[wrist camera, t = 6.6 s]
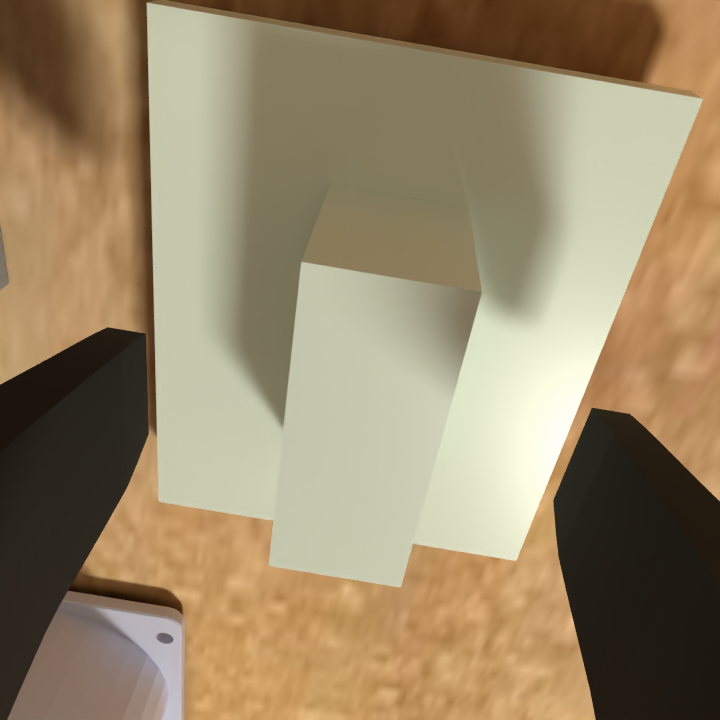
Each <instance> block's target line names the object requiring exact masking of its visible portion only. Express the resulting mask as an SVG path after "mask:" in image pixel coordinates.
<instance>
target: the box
mask: <svg viewBox="0 0 720 720" xmlns="http://www.w3.org/2000/svg"><path fill="white" fill-rule="evenodd" d="M8 283H9V282H8V275H7V269H6V262H5V256H4V250H3V243H2V237H1V230H0V290H1V289H2V288H4V287H5V286H6V285H7V284H8Z"/></svg>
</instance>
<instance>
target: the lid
mask: <svg viewBox="0 0 720 720" xmlns="http://www.w3.org/2000/svg"><path fill="white" fill-rule="evenodd" d="M147 35H148V77H149V119H150V161H151V203H152V245H153V287H154V329H155V371H156V413H157V455H158V497H159V502H163V503H169V504H175V505H181V506H187V507H193V508H199V509H206V510H212V511H218V512H224V513H230V514H236V515H242V516H248V517H254V518H260V519H266V520H272V521H273V529H272V538H271V548H270V557H269V566H273V567H279V568H285V569H291V570H297V571H303V572H310V573H316V574H322V575H328V576H334V577H340V578H346V579H352V580H358V581H364V582H370V583H376V584H383V585H389V586H395V587H401V585H402V581H403V578H404V574H405V570H406V567H407V563H408V559H409V556H410V552H411V548H412V545H413V544H418V545H424V546H430V547H436V548H442V549H448V550H454V551H460V552H466V553H472V554H478V555H484V556H490V557H496V558H502V559H508V560H514V561H516V560H517V557H518V555H519V552H520V550H521V547H522V545H523V542H524V540H525V538H526V535H527V533H528V530H529V528H530V525H531V523H532V520H533V518H534V515H535V513H536V510H537V508H538V505H539V503H540V501H541V498H542V496H543V493H544V491H545V488H546V486H547V483H548V481H549V478H550V476H551V473H552V471H553V468H554V466H555V463H556V461H557V459H558V456H559V454H560V451H561V449H562V446H563V444H564V441H565V439H566V436H567V434H568V431H569V429H570V426H571V424H572V422H573V419H574V417H575V414H576V412H577V409H578V407H579V404H580V402H581V399H582V397H583V394H584V392H585V389H586V387H587V385H588V382H589V380H590V377H591V375H592V372H593V370H594V367H595V365H596V362H597V360H598V357H599V355H600V352H601V350H602V347H603V345H604V343H605V340H606V338H607V335H608V333H609V330H610V328H611V325H612V323H613V320H614V318H615V315H616V313H617V310H618V308H619V306H620V303H621V301H622V298H623V296H624V293H625V291H626V288H627V286H628V283H629V281H630V278H631V276H632V273H633V271H634V268H635V266H636V264H637V261H638V259H639V256H640V254H641V251H642V249H643V246H644V244H645V241H646V239H647V236H648V234H649V231H650V229H651V227H652V224H653V222H654V219H655V217H656V214H657V212H658V209H659V207H660V204H661V202H662V199H663V197H664V194H665V192H666V189H667V187H668V185H669V182H670V180H671V177H672V175H673V172H674V170H675V167H676V165H677V162H678V160H679V157H680V155H681V152H682V150H683V148H684V145H685V143H686V140H687V138H688V135H689V133H690V130H691V128H692V125H693V123H694V120H695V118H696V115H697V113H698V111H699V108H700V106H701V103H702V101H703V98H701V97H699V96H698V95H696V94H695V93H693V92H691V91H688V90H682V89H676V88H671V87H665V86H659V85H653V84H648V83H642V82H636V81H630V80H624V79H619V78H613V77H607V76H601V75H595V74H590V73H584V72H578V71H572V70H567V69H561V68H555V67H549V66H543V65H538V64H532V63H526V62H520V61H515V60H509V59H503V58H497V57H491V56H486V55H480V54H474V53H468V52H463V51H457V50H451V49H445V48H439V47H434V46H428V45H422V44H416V43H410V42H405V41H399V40H393V39H387V38H382V37H376V36H370V35H364V34H358V33H353V32H347V31H341V30H335V29H330V28H324V27H318V26H312V25H306V24H301V23H295V22H289V21H283V20H277V19H272V18H266V17H260V16H254V15H249V14H243V13H237V12H231V11H225V10H220V9H214V8H208V7H202V6H197V5H191V4H185V3H179V2H173V1H168V0H155V1H151V2H147Z"/></svg>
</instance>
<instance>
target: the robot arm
mask: <svg viewBox="0 0 720 720" xmlns="http://www.w3.org/2000/svg"><path fill="white" fill-rule="evenodd" d="M148 434H149V430H148V397H147V364H146V334H144V333H138V332H132V331H126V330H120V329H114V328H105V329H103V330H101V331H99V332H97V333H95V334H93V335H91V336H89V337H87V338H85V339H84V340H82V341H80V342H78V343H76V344H74V345H73V346H71V347H69V348H67V349H65V350H63V351H62V352H60V353H58V354H56V355H54V356H53V357H51V358H49V359H47V360H45V361H43V362H42V363H40V364H38V365H36V366H34V367H32V368H30V369H29V370H27V371H25V372H23V373H21V374H19V375H17V376H16V377H14V378H12V379H10V380H8V381H6V382H4V383H2V384H1V385H0V720H184V684H185V619H184V616H183V615H182V614H181V613H180V612H179V611H178V610H176V609H174V608H170V607H165V606H159V605H153V604H147V603H141V602H135V601H129V600H122V599H116V598H110V597H104V596H98V595H92V594H86V593H80V592H73V591H68V590H69V588H70V586H71V585H72V583H73V581H74V580H75V578H76V576H77V574H78V573H79V571H80V569H81V567H82V566H83V564H84V562H85V560H86V559H87V557H88V555H89V553H90V552H91V550H92V548H93V547H94V545H95V543H96V541H97V540H98V538H99V536H100V534H101V533H102V531H103V529H104V527H105V526H106V524H107V522H108V520H109V519H110V517H111V515H112V513H113V512H114V510H115V508H116V506H117V504H118V503H119V501H120V499H121V497H122V496H123V494H124V492H125V490H126V488H127V486H128V484H129V482H130V479H131V477H132V475H133V472H134V470H135V467H136V465H137V463H138V460H139V457H140V455H141V452H142V450H143V447H144V445H145V442H146V439H147V437H148ZM554 513H555V526H556V537H557V546H558V555H559V560H560V565H561V569H562V574H563V578H564V583H565V587H566V591H567V596H568V600H569V604H570V608H571V612H572V617H573V621H574V625H575V629H576V633H577V637H578V641H579V646H580V650H581V654H582V658H583V662H584V666H585V671H586V675H587V679H588V683H589V687H590V692H591V697H592V702H593V707H594V713H595V718H596V720H720V501H719V500H718V499H717V498H716V497H715V496H713V495H712V494H711V493H710V492H709V491H708V490H707V489H706V488H705V487H704V486H703V485H702V484H701V483H700V482H699V481H698V480H697V479H696V478H695V477H694V476H693V475H692V474H691V473H690V472H689V471H688V470H687V469H686V468H685V467H684V466H683V465H682V464H681V463H680V462H679V461H678V460H677V459H676V458H675V457H674V456H673V455H672V454H671V453H670V452H669V451H668V450H667V449H666V448H665V447H664V446H663V445H662V444H661V443H660V442H659V441H658V440H657V439H656V438H655V437H654V436H653V435H652V434H651V433H650V432H649V431H648V430H647V429H646V428H645V427H644V426H643V425H642V424H641V423H639V422H638V421H637V420H636V419H635V418H634V417H633V416H631V415H630V414H626V413H620V412H614V411H608V410H602V409H596V408H592V409H591V411H590V414H589V416H588V419H587V421H586V423H585V426H584V428H583V431H582V433H581V435H580V438H579V440H578V443H577V445H576V448H575V450H574V452H573V455H572V457H571V460H570V462H569V464H568V467H567V469H566V472H565V474H564V476H563V479H562V481H561V484H560V486H559V488H558V491H557V493H556V496H555V498H554Z"/></svg>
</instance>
